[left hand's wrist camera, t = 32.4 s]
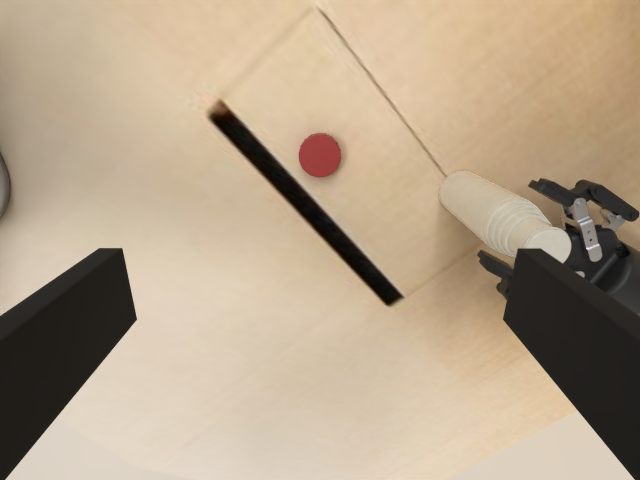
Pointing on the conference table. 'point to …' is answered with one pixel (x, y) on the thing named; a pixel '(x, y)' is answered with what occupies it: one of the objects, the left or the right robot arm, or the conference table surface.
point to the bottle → (501, 216)
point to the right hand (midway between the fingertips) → (506, 221)
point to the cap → (319, 155)
